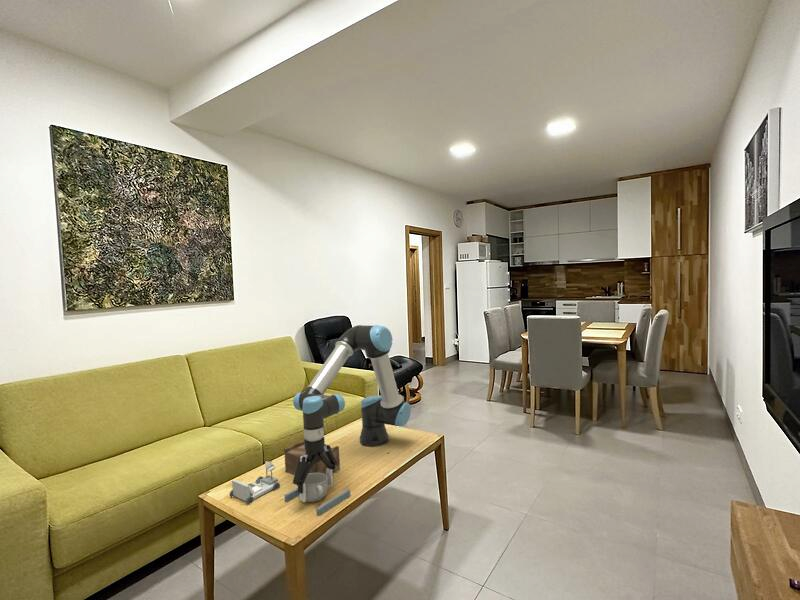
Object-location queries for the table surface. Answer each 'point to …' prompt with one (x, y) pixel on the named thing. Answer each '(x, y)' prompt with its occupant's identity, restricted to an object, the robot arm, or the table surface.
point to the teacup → (315, 486)
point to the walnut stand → (319, 467)
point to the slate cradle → (325, 506)
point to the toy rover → (255, 486)
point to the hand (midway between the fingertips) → (317, 492)
